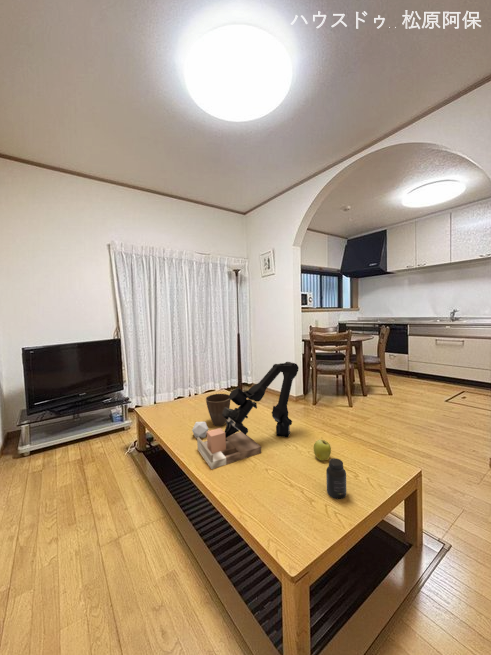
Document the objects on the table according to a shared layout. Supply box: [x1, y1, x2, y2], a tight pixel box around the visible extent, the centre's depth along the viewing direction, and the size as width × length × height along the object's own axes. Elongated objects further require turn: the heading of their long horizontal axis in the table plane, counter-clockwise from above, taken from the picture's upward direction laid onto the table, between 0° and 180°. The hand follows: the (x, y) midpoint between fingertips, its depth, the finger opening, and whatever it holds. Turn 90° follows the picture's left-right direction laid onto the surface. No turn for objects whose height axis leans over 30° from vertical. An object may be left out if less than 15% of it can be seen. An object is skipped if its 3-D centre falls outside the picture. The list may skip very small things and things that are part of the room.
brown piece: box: [196, 431, 262, 470], centre depth 127 cm, size 25×19×6 cm
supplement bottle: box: [325, 457, 347, 500], centre depth 95 cm, size 7×7×12 cm
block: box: [206, 427, 226, 453], centre depth 124 cm, size 7×6×8 cm
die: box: [191, 421, 209, 439], centre depth 143 cm, size 8×9×10 cm
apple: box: [313, 438, 332, 461], centre depth 118 cm, size 8×8×10 cm
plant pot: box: [205, 393, 232, 427], centre depth 158 cm, size 15×15×16 cm
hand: (223, 437), depth 125 cm, fingers closed, pressing on block
